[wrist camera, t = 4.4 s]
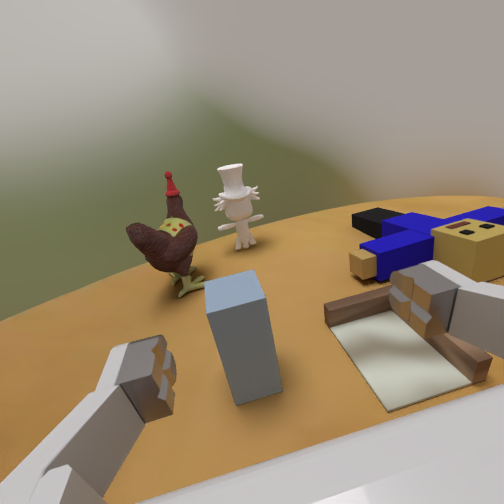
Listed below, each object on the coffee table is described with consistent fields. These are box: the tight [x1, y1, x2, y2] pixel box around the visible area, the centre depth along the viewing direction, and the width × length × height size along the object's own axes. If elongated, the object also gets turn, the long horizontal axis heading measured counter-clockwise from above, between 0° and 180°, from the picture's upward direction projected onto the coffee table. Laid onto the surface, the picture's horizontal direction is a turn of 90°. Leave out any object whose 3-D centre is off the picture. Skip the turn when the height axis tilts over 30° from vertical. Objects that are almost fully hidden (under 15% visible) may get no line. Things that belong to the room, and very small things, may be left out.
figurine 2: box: [213, 164, 264, 249], centre depth 55 cm, size 10×8×18 cm
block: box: [204, 269, 283, 406], centre depth 26 cm, size 5×5×12 cm
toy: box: [349, 206, 504, 283], centre depth 47 cm, size 30×7×27 cm
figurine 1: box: [126, 172, 205, 298], centre depth 44 cm, size 11×15×20 cm
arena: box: [324, 285, 493, 412], centre depth 29 cm, size 12×10×3 cm
